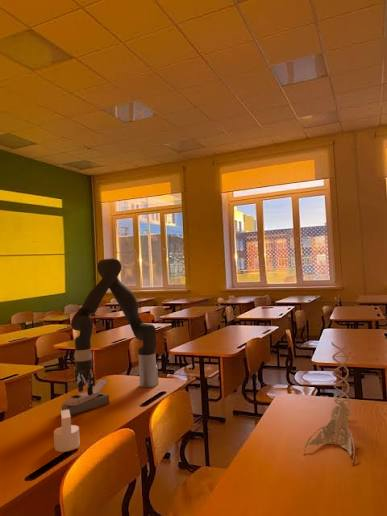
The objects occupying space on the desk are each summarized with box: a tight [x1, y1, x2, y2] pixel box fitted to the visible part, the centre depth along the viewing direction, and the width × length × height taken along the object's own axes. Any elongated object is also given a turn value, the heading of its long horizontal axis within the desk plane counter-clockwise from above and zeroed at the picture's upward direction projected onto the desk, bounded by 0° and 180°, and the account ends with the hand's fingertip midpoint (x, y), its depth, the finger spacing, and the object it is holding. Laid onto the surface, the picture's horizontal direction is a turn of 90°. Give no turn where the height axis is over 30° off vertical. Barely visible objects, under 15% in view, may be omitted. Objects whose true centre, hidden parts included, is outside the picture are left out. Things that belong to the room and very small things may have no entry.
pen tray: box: [61, 392, 110, 417], centre depth 192 cm, size 21×6×4 cm, turn 134°
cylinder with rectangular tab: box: [53, 409, 81, 453], centre depth 153 cm, size 9×9×12 cm
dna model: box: [331, 341, 351, 412], centre depth 168 cm, size 7×6×30 cm
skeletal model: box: [302, 400, 356, 466], centre depth 142 cm, size 16×9×25 cm
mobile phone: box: [60, 379, 109, 408], centre depth 192 cm, size 6×6×25 cm
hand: (85, 393), depth 192 cm, fingers open, 8 cm apart
